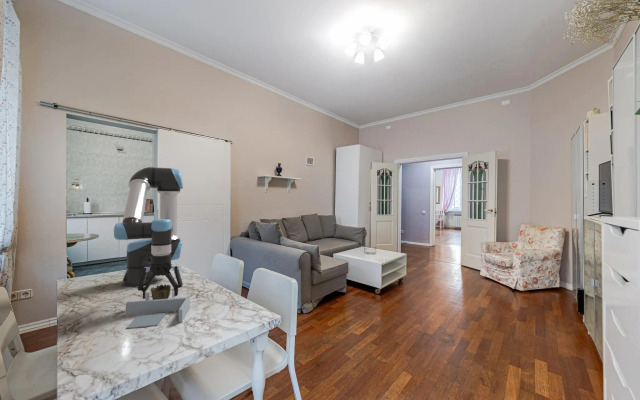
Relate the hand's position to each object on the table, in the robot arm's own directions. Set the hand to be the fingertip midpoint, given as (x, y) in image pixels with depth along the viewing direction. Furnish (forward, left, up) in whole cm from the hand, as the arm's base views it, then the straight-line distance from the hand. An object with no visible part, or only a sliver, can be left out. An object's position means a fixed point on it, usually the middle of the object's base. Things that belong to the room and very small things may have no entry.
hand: (160, 304), depth 111 cm
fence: (+13, +2, 0) cm, 13 cm away
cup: (0, 0, 0) cm, 0 cm away
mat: (+15, 0, 0) cm, 15 cm away
